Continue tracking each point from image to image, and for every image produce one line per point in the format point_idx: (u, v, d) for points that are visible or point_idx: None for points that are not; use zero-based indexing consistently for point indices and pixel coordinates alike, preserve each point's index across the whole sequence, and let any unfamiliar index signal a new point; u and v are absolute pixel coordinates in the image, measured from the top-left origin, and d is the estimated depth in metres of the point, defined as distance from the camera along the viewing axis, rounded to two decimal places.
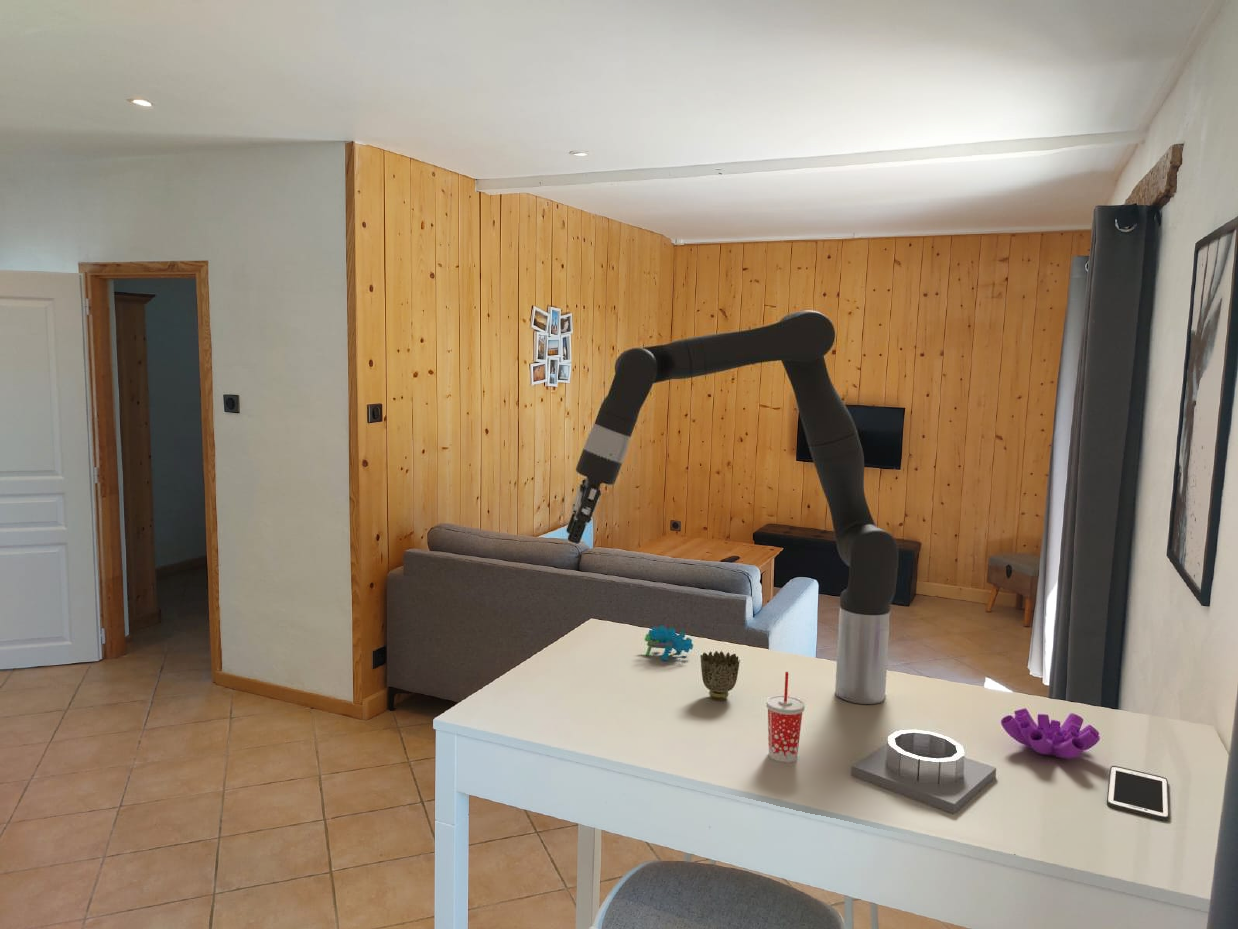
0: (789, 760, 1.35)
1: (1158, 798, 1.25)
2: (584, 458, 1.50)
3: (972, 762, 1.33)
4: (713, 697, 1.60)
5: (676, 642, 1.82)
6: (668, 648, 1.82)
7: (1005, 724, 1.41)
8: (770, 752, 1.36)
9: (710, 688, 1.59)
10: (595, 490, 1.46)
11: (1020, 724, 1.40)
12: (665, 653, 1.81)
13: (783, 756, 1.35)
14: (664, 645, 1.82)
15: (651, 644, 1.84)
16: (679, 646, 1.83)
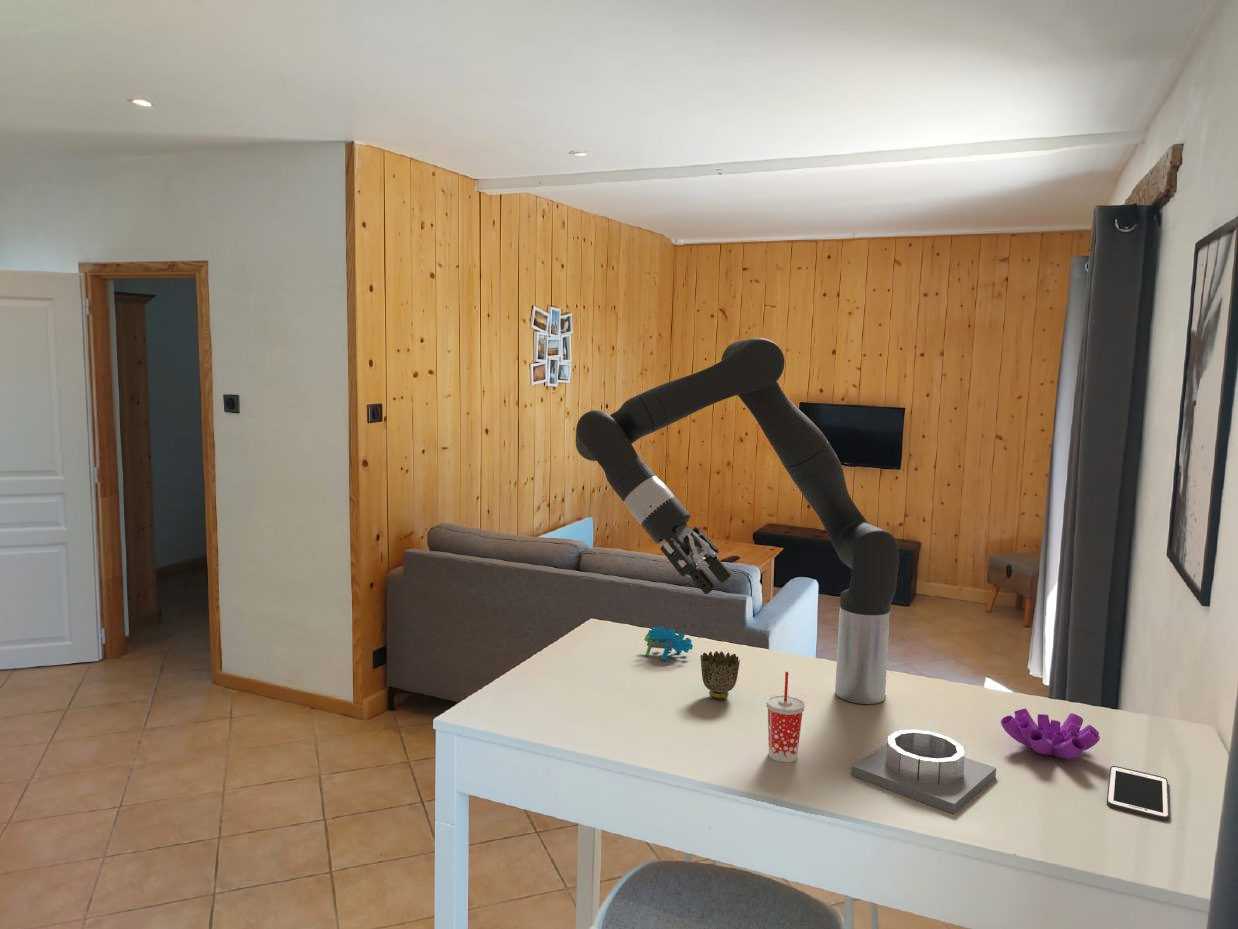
0: (789, 760, 1.35)
1: (1158, 798, 1.25)
2: (646, 531, 1.41)
3: (972, 762, 1.33)
4: (713, 697, 1.60)
5: (676, 642, 1.82)
6: (667, 648, 1.81)
7: (1005, 724, 1.41)
8: (770, 752, 1.36)
9: (710, 688, 1.59)
10: (666, 543, 1.35)
11: (1020, 724, 1.40)
12: (664, 653, 1.81)
13: (783, 756, 1.35)
14: (664, 645, 1.82)
15: (651, 644, 1.84)
16: (679, 646, 1.83)
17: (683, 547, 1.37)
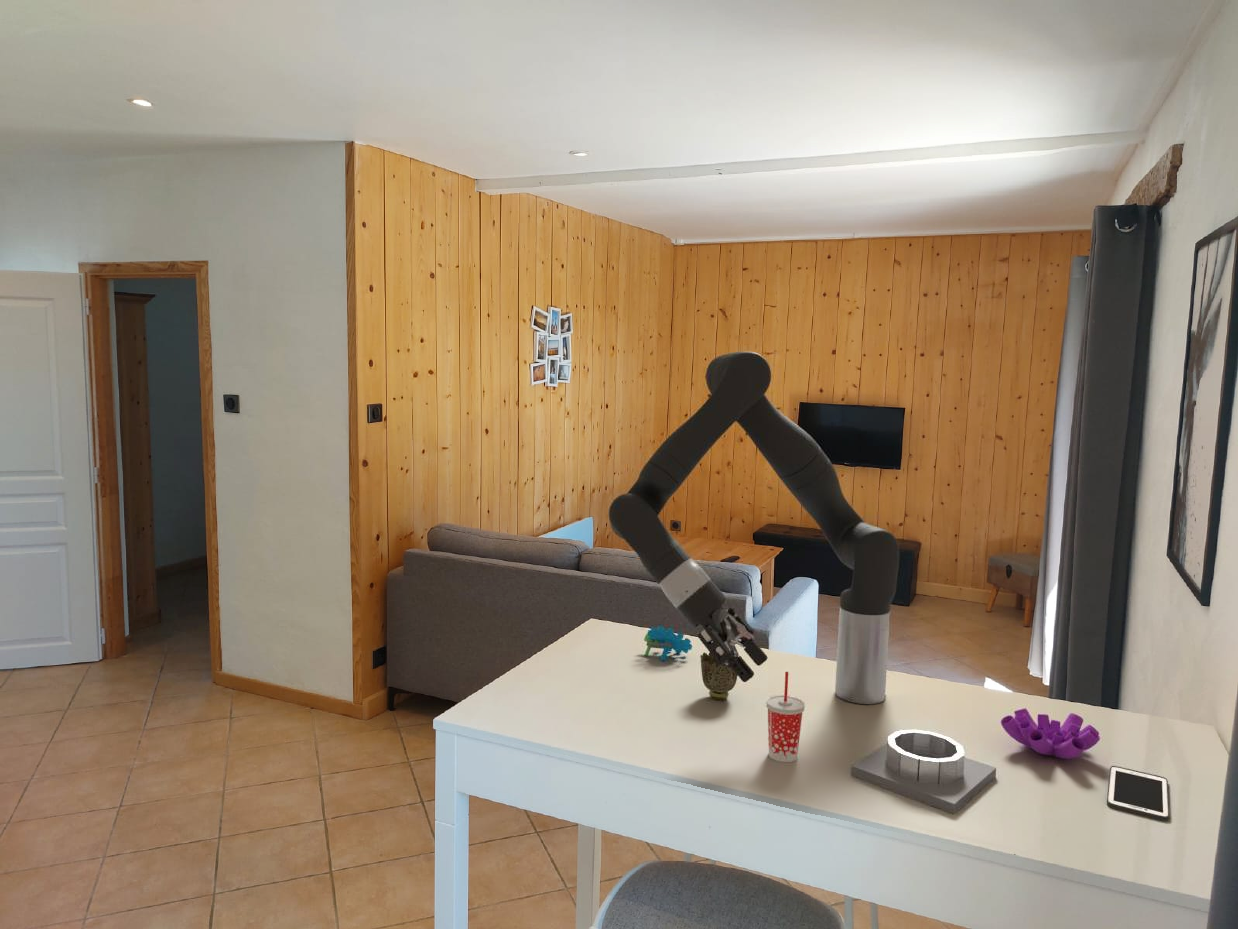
0: (789, 760, 1.35)
1: (1158, 798, 1.25)
2: (682, 615, 1.40)
3: (972, 762, 1.33)
4: (713, 697, 1.60)
5: (675, 642, 1.82)
6: (667, 648, 1.81)
7: (1005, 724, 1.41)
8: (770, 752, 1.36)
9: (710, 688, 1.59)
10: (704, 631, 1.34)
11: (1020, 724, 1.40)
12: (663, 653, 1.81)
13: (783, 756, 1.35)
14: (663, 645, 1.82)
15: (650, 644, 1.84)
16: (678, 646, 1.83)
17: (720, 633, 1.36)
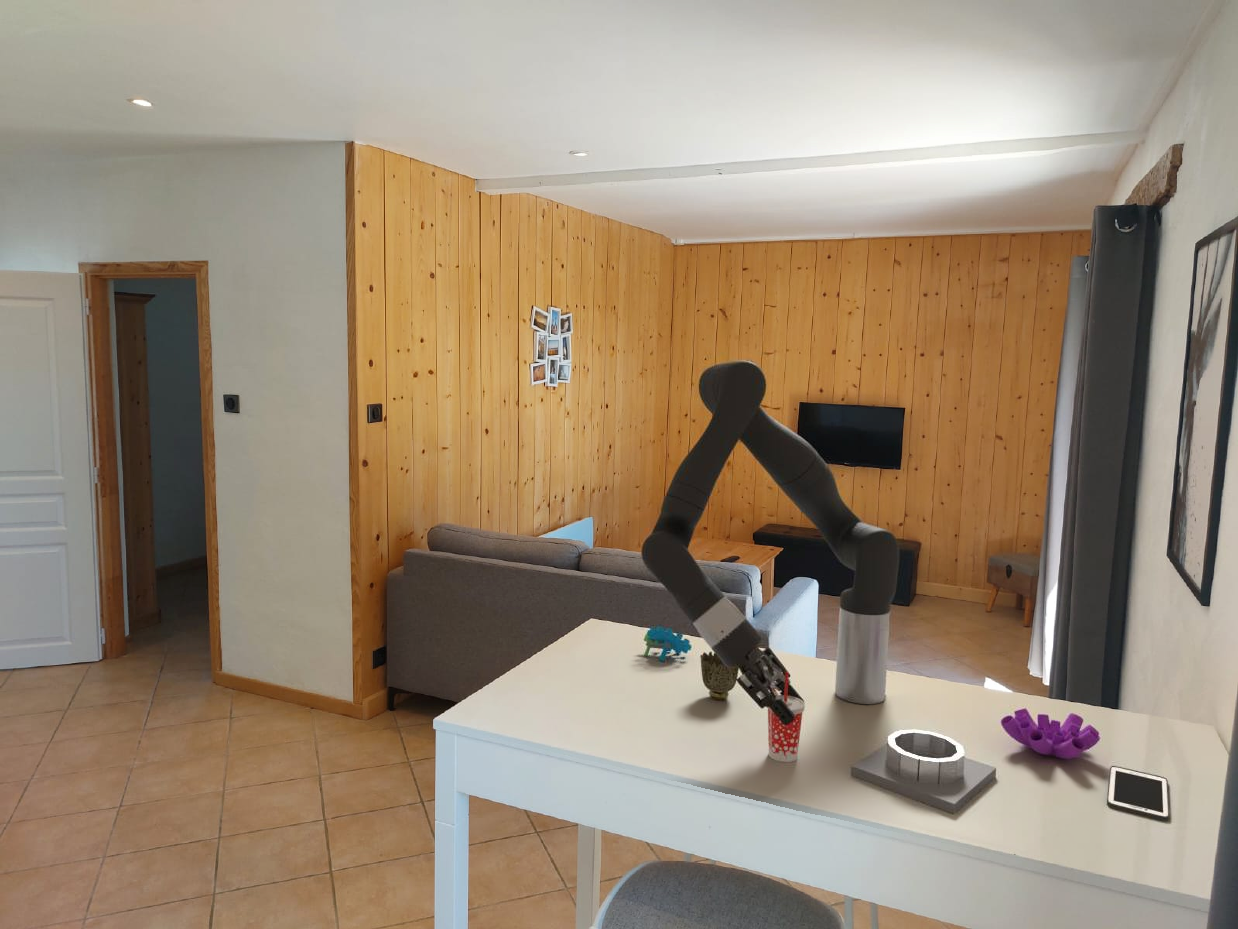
0: (789, 760, 1.35)
1: (1158, 798, 1.25)
2: (717, 655, 1.38)
3: (972, 762, 1.33)
4: (713, 697, 1.60)
5: (674, 643, 1.82)
6: (666, 649, 1.81)
7: (1005, 724, 1.41)
8: (770, 752, 1.36)
9: (710, 688, 1.59)
10: (744, 676, 1.32)
11: (1020, 724, 1.40)
12: (663, 653, 1.81)
13: (783, 756, 1.35)
14: (662, 645, 1.82)
15: (650, 644, 1.84)
16: (677, 647, 1.83)
17: (757, 674, 1.34)
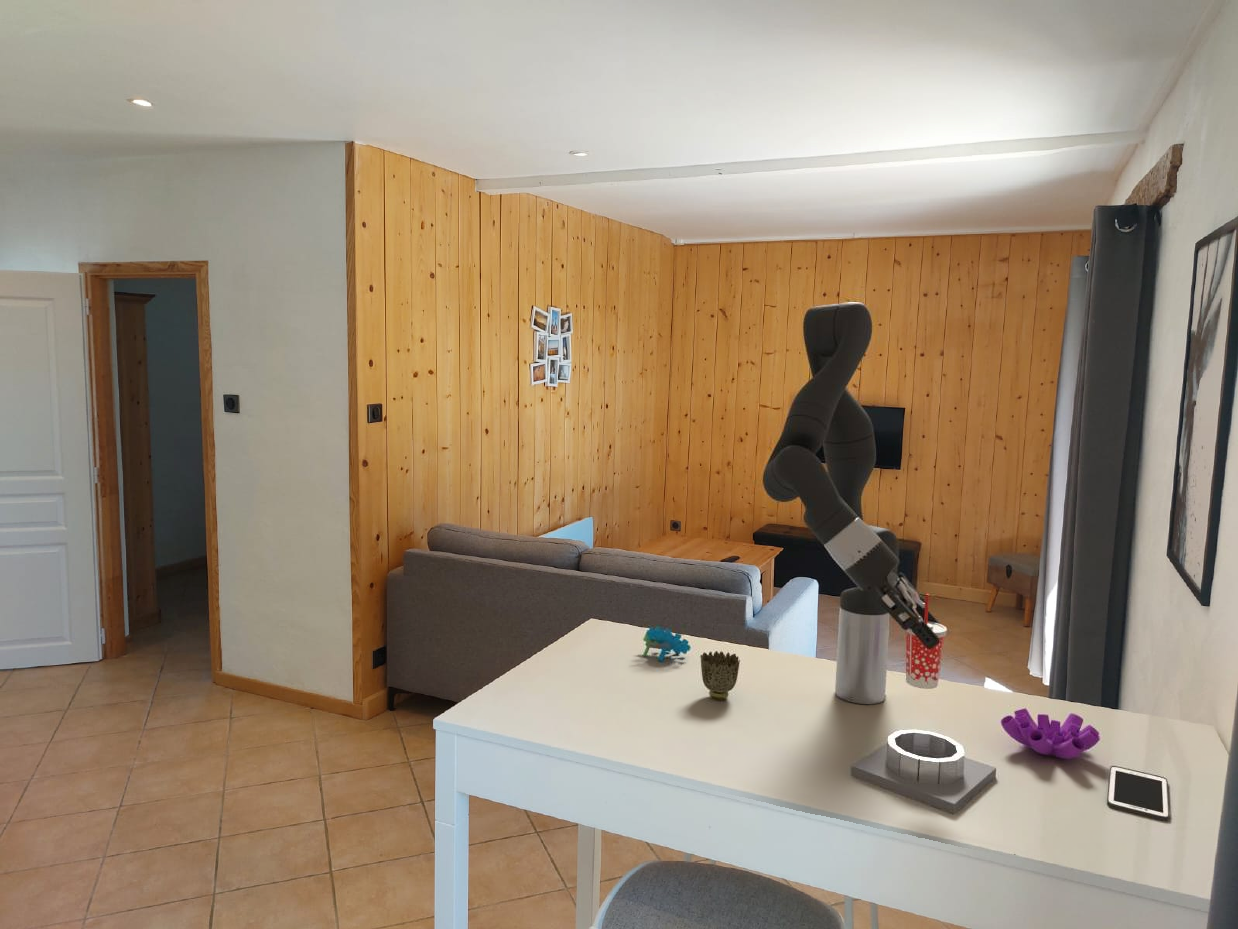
0: (930, 686, 1.28)
1: (1158, 798, 1.25)
2: (851, 577, 1.31)
3: (972, 762, 1.33)
4: (713, 697, 1.60)
5: (673, 643, 1.82)
6: (665, 649, 1.81)
7: (1005, 724, 1.41)
8: (909, 679, 1.29)
9: (710, 688, 1.59)
10: (886, 596, 1.24)
11: (1020, 724, 1.40)
12: (661, 654, 1.80)
13: (924, 682, 1.28)
14: (661, 646, 1.82)
15: (649, 644, 1.84)
16: (677, 647, 1.83)
17: (897, 596, 1.27)
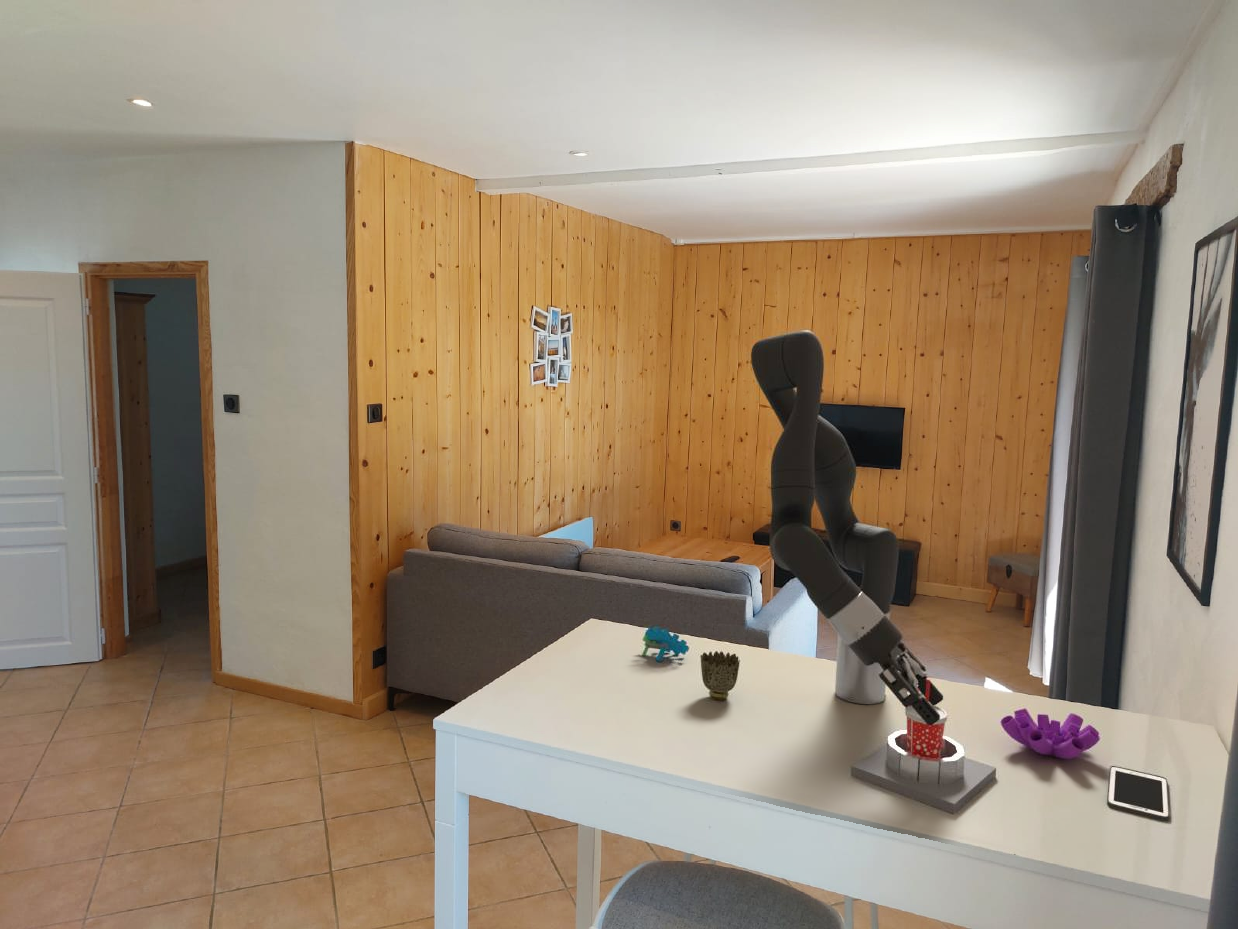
0: None
1: (1158, 798, 1.25)
2: (855, 652, 1.32)
3: (972, 762, 1.33)
4: (713, 697, 1.60)
5: (672, 643, 1.81)
6: (663, 649, 1.81)
7: (1005, 724, 1.41)
8: None
9: (710, 688, 1.59)
10: (887, 671, 1.26)
11: (1020, 724, 1.40)
12: (659, 654, 1.80)
13: None
14: (660, 646, 1.82)
15: (648, 644, 1.84)
16: (675, 648, 1.82)
17: (901, 673, 1.28)
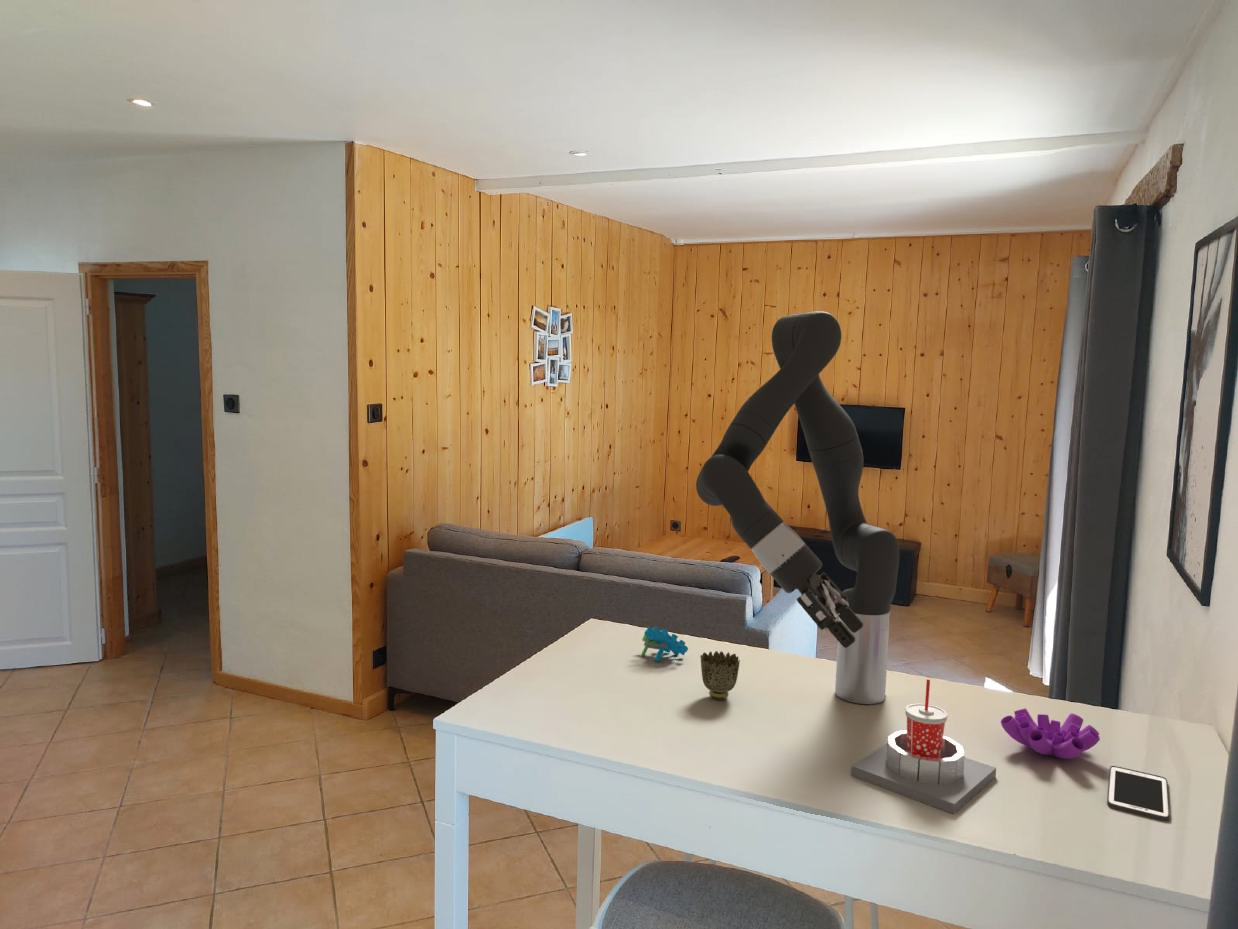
0: None
1: (1158, 798, 1.25)
2: (776, 580, 1.36)
3: (972, 762, 1.33)
4: (713, 697, 1.60)
5: (671, 644, 1.81)
6: (662, 649, 1.81)
7: (1005, 724, 1.41)
8: None
9: (710, 688, 1.59)
10: (804, 595, 1.30)
11: (1020, 724, 1.40)
12: (658, 654, 1.80)
13: None
14: (658, 646, 1.82)
15: (647, 644, 1.84)
16: (674, 648, 1.82)
17: (819, 598, 1.32)
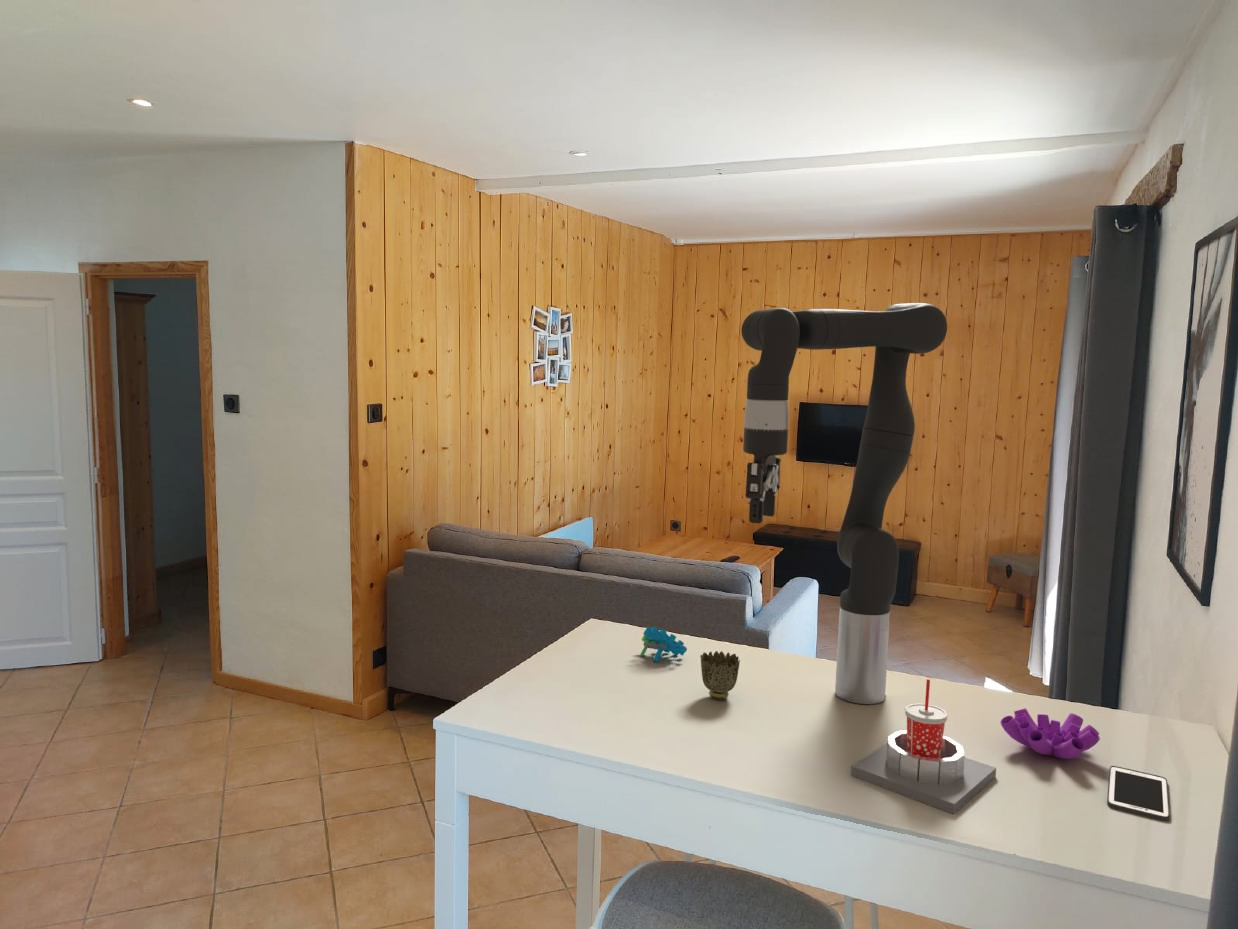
0: None
1: (1158, 798, 1.25)
2: (745, 436, 1.46)
3: (972, 762, 1.33)
4: (713, 697, 1.60)
5: (669, 644, 1.81)
6: (660, 649, 1.80)
7: (1005, 724, 1.41)
8: None
9: (710, 688, 1.59)
10: (756, 464, 1.41)
11: (1020, 724, 1.40)
12: (657, 654, 1.80)
13: None
14: (657, 646, 1.81)
15: (646, 644, 1.84)
16: (673, 648, 1.82)
17: (763, 474, 1.44)
